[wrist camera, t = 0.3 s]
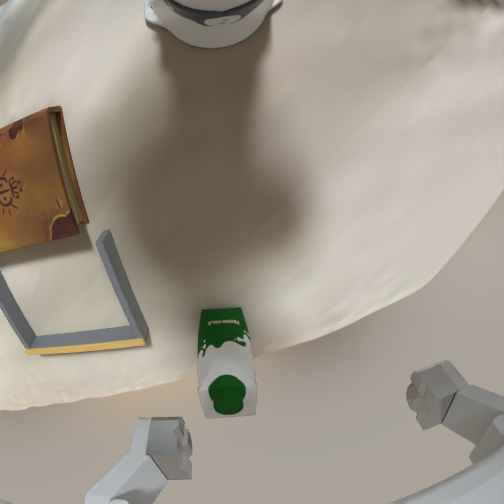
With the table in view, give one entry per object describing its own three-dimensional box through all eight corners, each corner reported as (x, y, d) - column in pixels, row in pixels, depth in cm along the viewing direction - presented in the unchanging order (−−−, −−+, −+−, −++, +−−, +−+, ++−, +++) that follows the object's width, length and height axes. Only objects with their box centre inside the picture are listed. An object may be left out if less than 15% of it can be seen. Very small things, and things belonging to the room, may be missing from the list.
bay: (-9, 261, 45) (-21, 273, 41) (109, 229, 46) (101, 243, 42) (35, 340, 55) (27, 355, 51) (148, 328, 56) (144, 345, 51)
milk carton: (246, 302, 55) (261, 394, 38) (247, 339, 59) (261, 428, 42) (195, 306, 54) (193, 399, 37) (201, 343, 59) (202, 432, 41)
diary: (63, 105, 36) (45, 108, 31) (90, 219, 45) (77, 234, 40) (-35, 150, 35) (-54, 158, 30) (-7, 243, 44) (-22, 258, 39)
